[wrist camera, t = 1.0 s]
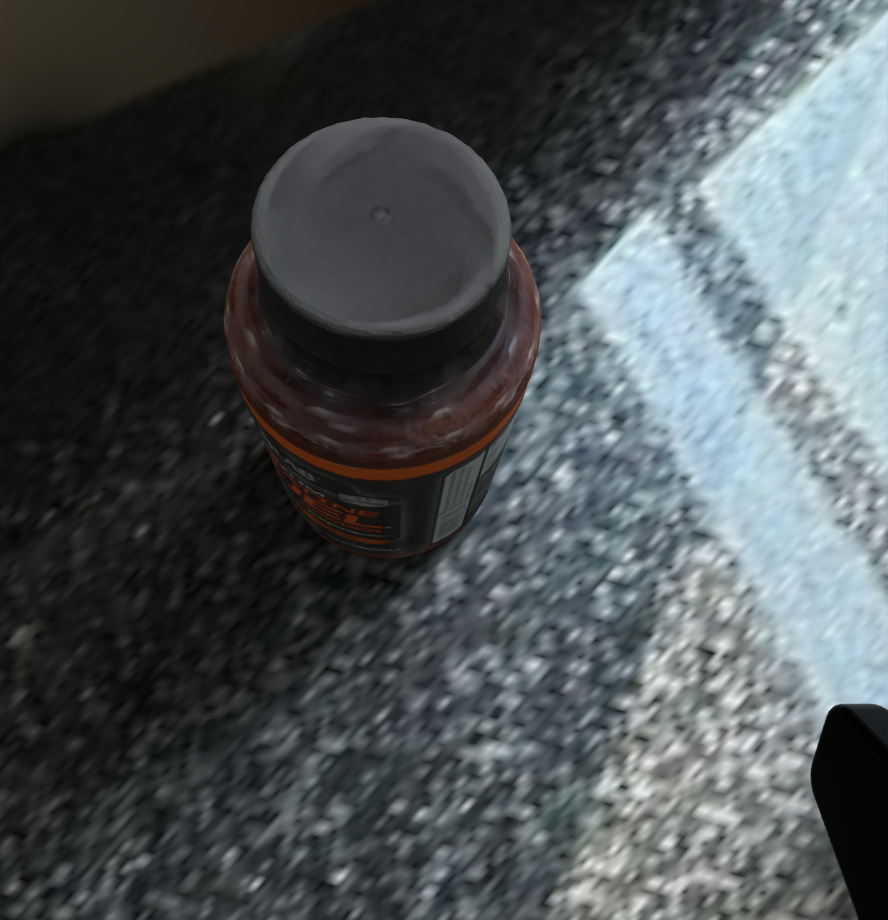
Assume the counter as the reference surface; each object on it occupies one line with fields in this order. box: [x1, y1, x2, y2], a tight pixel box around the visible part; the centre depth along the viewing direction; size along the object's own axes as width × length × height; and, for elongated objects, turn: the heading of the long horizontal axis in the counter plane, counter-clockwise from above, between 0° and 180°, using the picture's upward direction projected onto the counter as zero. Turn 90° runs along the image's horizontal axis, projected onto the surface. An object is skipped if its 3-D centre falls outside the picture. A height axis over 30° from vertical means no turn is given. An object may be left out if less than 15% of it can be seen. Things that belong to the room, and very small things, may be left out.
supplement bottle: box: [224, 117, 541, 558], centre depth 17 cm, size 6×6×11 cm
